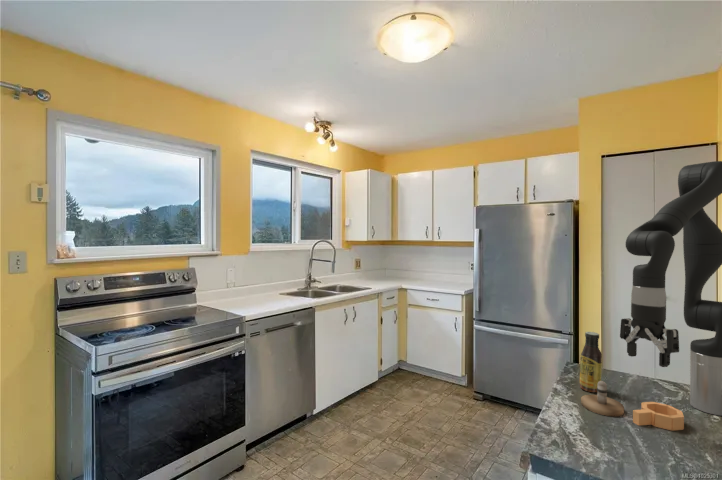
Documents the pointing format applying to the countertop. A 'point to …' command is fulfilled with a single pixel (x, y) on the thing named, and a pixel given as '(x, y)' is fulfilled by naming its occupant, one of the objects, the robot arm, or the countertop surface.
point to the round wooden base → (602, 402)
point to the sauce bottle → (590, 363)
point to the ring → (659, 416)
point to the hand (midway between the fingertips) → (647, 361)
